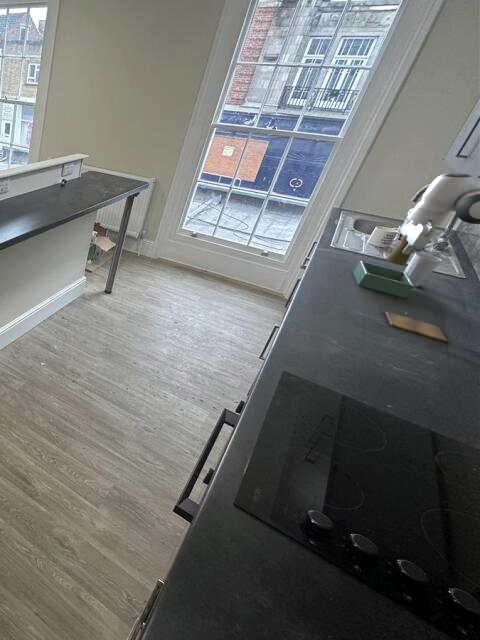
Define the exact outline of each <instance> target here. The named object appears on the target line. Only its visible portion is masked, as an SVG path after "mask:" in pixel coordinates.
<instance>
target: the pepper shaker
mask: <svg viewBox="0 0 480 640" xmlns="http://www.w3.org/2000/svg"><path fill="white" fill-rule="evenodd" d="M406 239H407V235H404V236H403V235H402V237H401V238H400V243H398V244H397V245H396V247H395V248H394V249H393V250H392V251H391V252H390V253H389V254H388V255H387V256H386V257H385V261H388V262H389V263H392V264H395V265H400V266H406V265H407V264H408V261H409V260H410V257H411V255H412V253H413V252H414V249H413V250H412V251H411V252H410V253H409V254H403V252H402V251H403V249H404V248H406V247H407V244H408V241H407V240H406Z"/></svg>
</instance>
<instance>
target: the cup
mask: <svg viewBox="0 0 480 640" xmlns="http://www.w3.org/2000/svg"><path fill="white" fill-rule="evenodd" d="M442 262H443V259H441V258H440V257H437V256H435V255H432V254H429V253H425V252H414V254H413V256H412V258H411V259H410V261H409V263H408V264H407V266H406V268H405V269H404V271H403V272H406V273H407V275H408V276H409V278H410V280H411V281H412V283H413V284H414V286H415V287H420V286H421V284H422V283H423V282H424V281H425V280H426V279H427V278H428V277H429V276H430V274H431V273H432V272H434V270H435V269H436V268H438V266H439V265H440V264H441V263H442Z"/></svg>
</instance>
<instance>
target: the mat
mask: <svg viewBox="0 0 480 640" xmlns="http://www.w3.org/2000/svg"><path fill="white" fill-rule="evenodd" d="M384 313H385V315H386V318H387V321H388V322H389V324H390V326H392V327H395V328H398V329H401V330H405V331H407V332H411V333H415V334H418V335H421V336H425V337H428V338H431V339H435V340H436V341H437V340H438V341H441V342H444V343H447V342H448V339H447V338H446V335H444V333H443V331H442V330H441V328H440V326H438V325H434V324H431V323H428V322H424V321H420V320H418V319H414V318H410V317H407V316H404V315H401V314H396V313H393V312H390V311H385V312H384Z"/></svg>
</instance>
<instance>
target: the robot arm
mask: <svg viewBox="0 0 480 640" xmlns="http://www.w3.org/2000/svg"><path fill="white" fill-rule="evenodd" d="M452 212H454V213H455V214H456V216H457V218H458V219H459V220H460V221H462V222H464V223H467V224H471V225H480V183H479V182H478V181H476V180H475V179H474V178H473V177H472V175H469V174H466V173H460V172H459V173H457V172H450V173H444V174H441V175H439V176H437V177H436V178H435V179H434V180H433V181H432V182H431V183H430V185H429V186H428V187H427V188H426V190H425V192H424V193H423V194H422V198H421V200H420V201H418V203H417V204H416V205H415V206H414V207H413V208H411V209H409V211H408V212H407V216H406V217H405V219H404V222H403V223H402V225H401V227H400V231H399V233H400V234H401V235H402V237H403V236H404V235H407V239H406V240H407V241H408V244H407V247H406V248H404V249H403V251H402V252H403V254H409V253H410V252H411V251H412V250H413V251H414V249H415V248H416V249H422V250H423V249H424V248H426V247H427V246H428V245H429V243H430V241H431V240H432V238H433V237H434V235H435V233H436V228H435V227H439V226H441V225H442V224H443V223H444V221H445V220H446V219H447V217H448V216H449V214H450V213H452ZM413 251H412V252H413Z"/></svg>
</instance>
